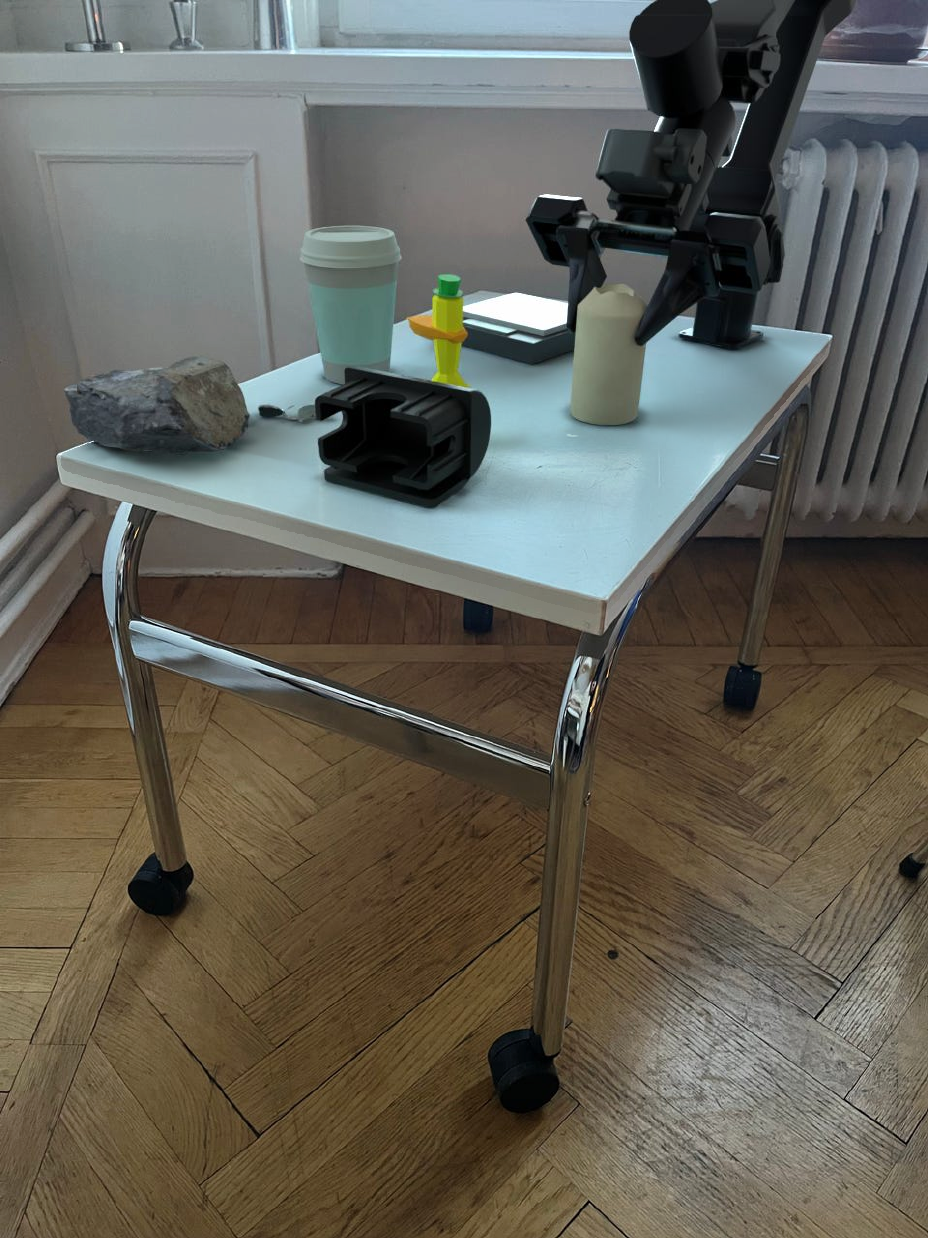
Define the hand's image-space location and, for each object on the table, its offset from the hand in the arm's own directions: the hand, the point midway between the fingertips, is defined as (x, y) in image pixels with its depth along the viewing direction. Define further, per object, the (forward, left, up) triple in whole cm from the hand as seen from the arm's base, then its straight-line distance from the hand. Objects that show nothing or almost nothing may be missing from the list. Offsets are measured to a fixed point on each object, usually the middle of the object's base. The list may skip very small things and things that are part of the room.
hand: (603, 336), depth 70 cm
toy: (+19, -18, -6) cm, 26 cm away
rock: (+29, -22, -7) cm, 37 cm away
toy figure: (+12, -6, -7) cm, 15 cm away
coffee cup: (+6, -22, -7) cm, 24 cm away
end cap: (+19, -3, -7) cm, 20 cm away
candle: (-1, 0, -7) cm, 7 cm away
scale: (-14, -19, -7) cm, 25 cm away
